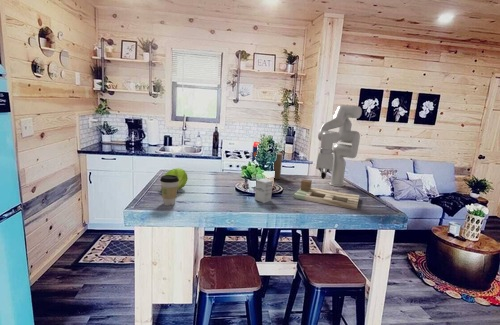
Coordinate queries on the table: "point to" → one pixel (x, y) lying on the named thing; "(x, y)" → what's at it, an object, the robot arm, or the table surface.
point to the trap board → (328, 197)
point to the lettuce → (179, 176)
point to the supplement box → (263, 190)
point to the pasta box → (254, 150)
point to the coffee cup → (169, 189)
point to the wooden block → (278, 166)
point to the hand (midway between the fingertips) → (323, 178)
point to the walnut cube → (306, 184)
